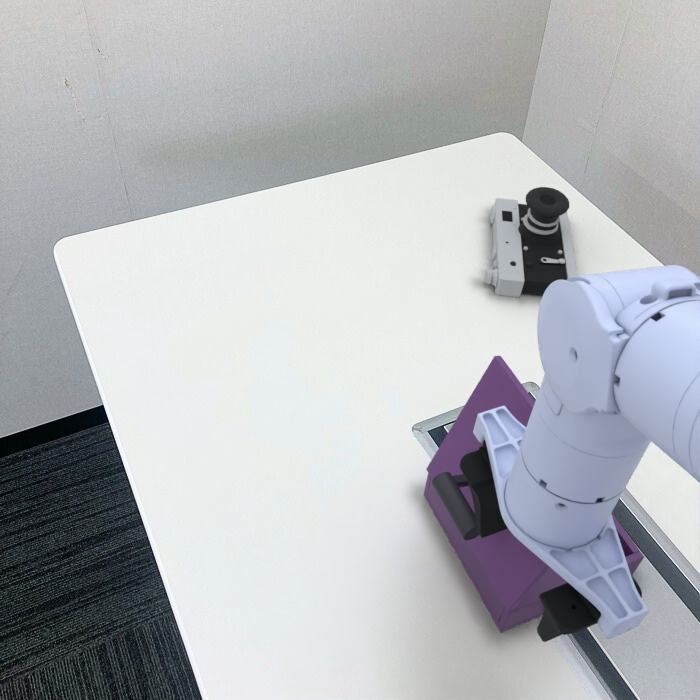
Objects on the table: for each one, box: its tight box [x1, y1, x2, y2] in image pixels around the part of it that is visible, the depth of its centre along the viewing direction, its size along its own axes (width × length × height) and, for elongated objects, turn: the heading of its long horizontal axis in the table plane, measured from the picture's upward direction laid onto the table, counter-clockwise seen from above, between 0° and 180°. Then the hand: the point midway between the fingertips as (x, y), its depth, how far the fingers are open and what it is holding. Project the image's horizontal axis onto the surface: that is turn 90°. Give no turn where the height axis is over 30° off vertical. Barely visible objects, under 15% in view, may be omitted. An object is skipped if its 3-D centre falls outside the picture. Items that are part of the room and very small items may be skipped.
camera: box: [483, 186, 578, 298], centre depth 87 cm, size 15×7×10 cm
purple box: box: [423, 472, 645, 633], centre depth 62 cm, size 12×13×4 cm
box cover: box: [426, 355, 550, 611], centre depth 54 cm, size 13×13×4 cm
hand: (521, 578), depth 49 cm, fingers open, 7 cm apart
